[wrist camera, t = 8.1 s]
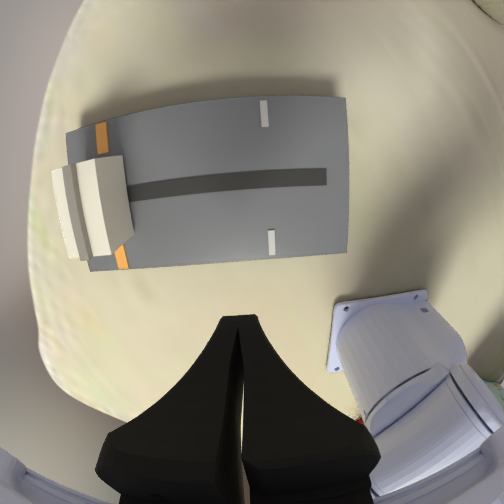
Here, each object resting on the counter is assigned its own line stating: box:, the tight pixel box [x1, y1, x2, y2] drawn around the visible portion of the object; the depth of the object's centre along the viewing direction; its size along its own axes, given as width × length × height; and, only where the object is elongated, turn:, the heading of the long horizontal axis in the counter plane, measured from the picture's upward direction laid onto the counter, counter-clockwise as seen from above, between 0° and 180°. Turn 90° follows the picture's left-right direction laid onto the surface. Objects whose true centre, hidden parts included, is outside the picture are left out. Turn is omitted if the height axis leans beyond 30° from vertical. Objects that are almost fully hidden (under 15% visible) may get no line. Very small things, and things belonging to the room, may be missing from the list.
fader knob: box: [51, 155, 134, 261], centre depth 13 cm, size 3×5×4 cm, turn 4°
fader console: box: [66, 95, 349, 272], centre depth 16 cm, size 18×10×2 cm, turn 94°
